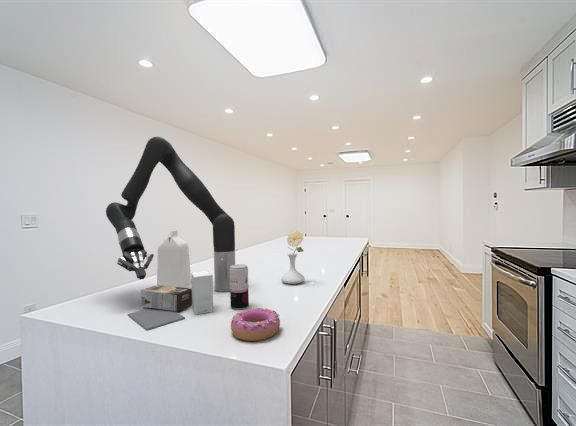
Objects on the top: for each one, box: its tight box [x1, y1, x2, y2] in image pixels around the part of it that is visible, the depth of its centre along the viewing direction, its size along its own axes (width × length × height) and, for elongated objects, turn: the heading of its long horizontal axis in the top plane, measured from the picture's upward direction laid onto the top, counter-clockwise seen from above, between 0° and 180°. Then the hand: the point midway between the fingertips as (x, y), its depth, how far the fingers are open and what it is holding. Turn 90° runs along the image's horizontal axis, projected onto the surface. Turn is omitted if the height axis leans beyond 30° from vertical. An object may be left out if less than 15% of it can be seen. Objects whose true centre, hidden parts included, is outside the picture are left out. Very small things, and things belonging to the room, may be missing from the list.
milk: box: [156, 229, 192, 288], centre depth 135 cm, size 12×12×26 cm
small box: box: [191, 270, 214, 315], centre depth 101 cm, size 8×6×13 cm
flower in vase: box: [280, 230, 306, 285], centre depth 135 cm, size 13×11×25 cm
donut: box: [230, 307, 281, 342], centre depth 83 cm, size 14×14×5 cm
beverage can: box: [229, 263, 250, 311], centre depth 103 cm, size 7×6×15 cm
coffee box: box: [139, 284, 192, 313], centre depth 105 cm, size 9×6×16 cm
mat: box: [127, 307, 186, 331], centre depth 95 cm, size 18×12×1 cm, turn 46°
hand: (142, 277), depth 103 cm, fingers closed
